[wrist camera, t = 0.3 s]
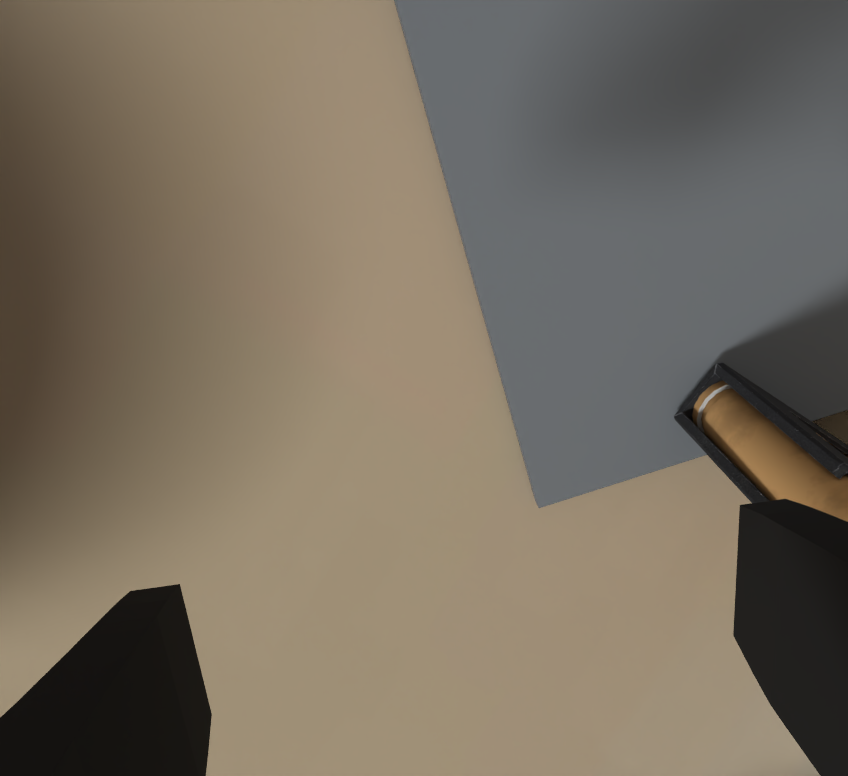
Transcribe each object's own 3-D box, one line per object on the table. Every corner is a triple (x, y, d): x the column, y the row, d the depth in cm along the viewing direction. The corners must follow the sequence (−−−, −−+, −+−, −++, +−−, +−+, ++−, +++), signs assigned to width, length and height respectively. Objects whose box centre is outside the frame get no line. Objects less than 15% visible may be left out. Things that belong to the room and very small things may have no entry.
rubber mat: (1107, 318, 21) (1121, 322, 21) (535, 500, 21) (538, 508, 21) (1125, -294, 16) (1144, -303, 16) (379, -52, 16) (380, -54, 16)
